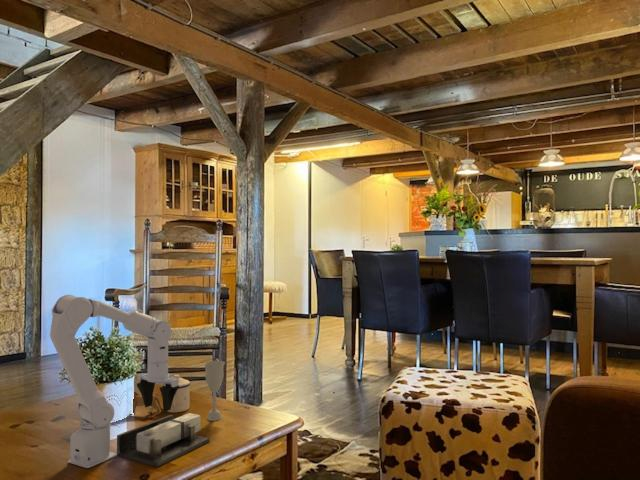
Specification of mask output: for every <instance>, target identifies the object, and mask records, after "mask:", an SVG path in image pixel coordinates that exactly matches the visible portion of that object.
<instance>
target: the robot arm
mask: <svg viewBox="0 0 640 480" xmlns="http://www.w3.org/2000/svg"><path fill="white" fill-rule="evenodd" d="M143 312H144V310H141V309H139V308H138V309H136V310H135V309H132V310H130V311H126V310H125V311H124V310H123V309H120V308H117V307H116V306H114V305H113V306H112V305H110V304H108V303H105V302H103V301H101V300H96V299H91V298H87V297H84V296H74V295H72V294H66V295H65V294H64V295H63V296H62V295H61V296H60V297H59V298H58V299H57V300H56V302H55V304H54V305H53V307H52V309H51V315H52V319H51V324H50V332H49V336H50V337H49V338H50V340H51V342H52V344H53V346H54V348H55V350H56V354H57V355H58V357H59V360H60V362H61V363H62V366H63V368H64V371H65V372H66V374H67V377H68V380H69V381H70V383H71V386H72V388H73V389H74V392H75V394H76V396H75V401H76V404H77V410H76V412H77V415H78V417H79V418H80V419H81V423H80V428H78V429H77V430H76V431H74V432H72V434H71V435H70V439H69V459H68V460H67V463H70V464H73V465H75V466H78V467H82V468H85V469H90V468H92V467H94V466H96V465H99V464H101V463H104V462H106V461H108V460H111V459H113V458H115V457H118V456H117V452H116V453H115V452H112V451H111V422H112V421H113V419H114V417H115V408H114V406H113V405H112V404H111V403H109V402H108V401H107V399H106V397H105V396H104V394H102V392H101V391H100V390H99V388H98V386H97V384H96V382H95V380H94V378H93V377H94V376H93V375H92V372H91V370H90V369H89V366H88V364H87V362H86V359H85V357H84V355H83V353H82V351H81V349H80V345H79V344H78V342H77V340H76V337H75V336H76V334H77V332H78V331H79V328H81V326H83V324H85V323H86V322H87V321H88V320H89V318H95V317H99V316H100V317H103V318H106V319H109V320H111V321H115V322H118V323H122V325H123V327H124V329H125V330H127V331H128V332H132V333H135V334H138V335H141V336H143V337H146V338H147V372H146V373H145V372H141V373H137V381H138V382H137V383H136V387H137V389H138V390H139V392H140V395H142V398H143V401H144V408H149V407H151V406H152V402H153V394H154V389H155V386H156V384H158V385H159V384H160V385H162V386H161V387H159V391H160V393H161V398H162V409H163V410H164V411H163V412H166V411H168V410H171V406H172V402H173V399H174V396H175V394H176V392H177V390H178V388H179V379H176V378H174V376H171V374H170V373H169V344H170V343H169V340H170V338H171V336H172V334H173V329H172V328H171V324H169V322H167V321H166V320H161V319H158V317H157V316H156V315H152V316H150V315H148V314H146V313H143ZM163 384H164V385H165V386H163Z"/></svg>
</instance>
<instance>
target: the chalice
mask: <svg viewBox="0 0 640 480" xmlns="http://www.w3.org/2000/svg"><path fill="white" fill-rule="evenodd" d="M225 364H226V361H224V360H209V361H205V362H203V365H204V367H205V381H206V384H207V386H208V389H209V391H210V392H212V397H211V398H212V402H211V404H212V409H210V410H209V412H208V413H207V414H208V415H207V417H206V420H207V421H214V422H215V421H220V420H222V419H223V416H222V414H221V412H220V410H219V409H217V404H218V401H217V398H218V397H217V392H219V390H220V389H221V386H222V383H223V380H224V368H225V367H224V366H225Z"/></svg>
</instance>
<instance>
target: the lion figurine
mask: <svg viewBox="0 0 640 480" xmlns="http://www.w3.org/2000/svg"><path fill="white" fill-rule="evenodd" d="M157 404H158V405H157ZM137 407H145V405H144V401H143V398H142V395H141V394H139V393H138V392H137V391H134V399H133V413H134V415H136V408H137ZM150 407H151V409H150V410H148V413H154V411H156V412H155V415H156V416H158V415H160V412H161V411H162V412H165V411H164V410H163V407H162V406H161V401H160V399H159V397H158V396H157V395H156V394H155V393H153V402H152V406H150Z"/></svg>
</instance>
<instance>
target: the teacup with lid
mask: <svg viewBox="0 0 640 480" xmlns="http://www.w3.org/2000/svg"><path fill="white" fill-rule="evenodd" d="M173 377H174V378H176V379H179V388H178V390H177V392H176V394H175V396H174V399H173V402H172V406H171V410H168V411H165V412H167V413H181V412H185V411H188V410H189V408H190V385H191V382H190V380H188V379H185V378H183V377H181V376H180V374H175V375H173ZM163 386H165V385H164V384H162V387H163Z"/></svg>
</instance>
